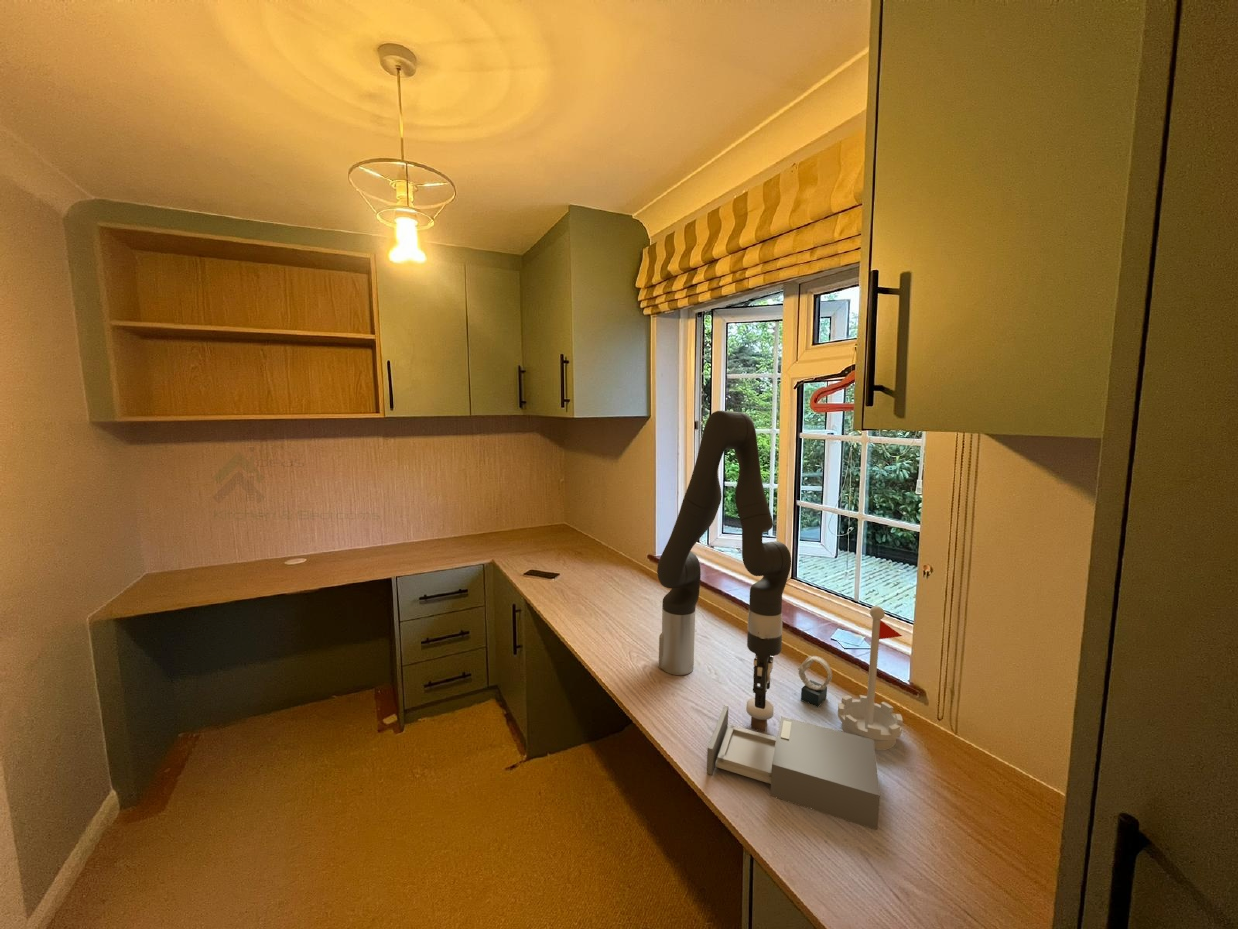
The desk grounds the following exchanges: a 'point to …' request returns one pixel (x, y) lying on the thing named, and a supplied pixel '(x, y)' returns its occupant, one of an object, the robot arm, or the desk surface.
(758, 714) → the beige knobbed lid
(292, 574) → the desk surface
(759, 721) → the brown block
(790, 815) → the desk surface
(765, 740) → the tray
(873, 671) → the flag stand
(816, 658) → the watch
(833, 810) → the housing
